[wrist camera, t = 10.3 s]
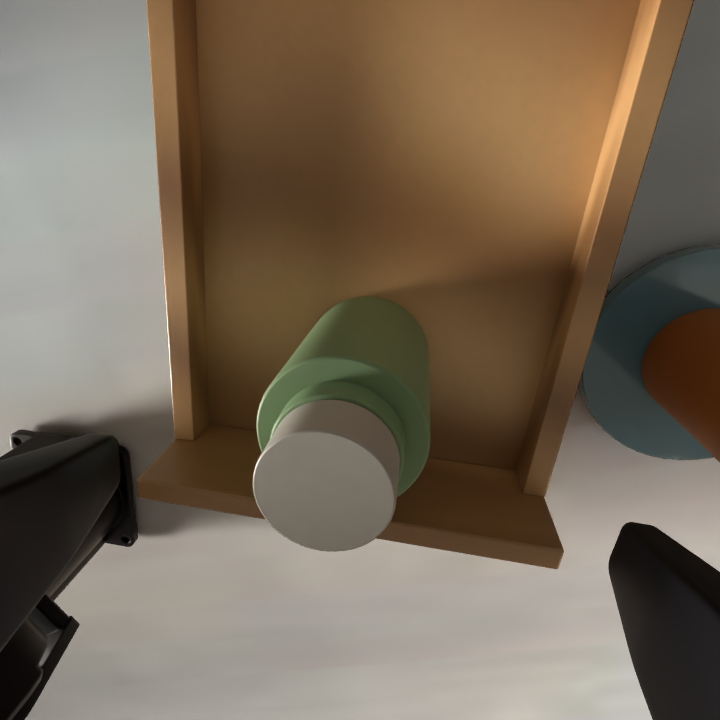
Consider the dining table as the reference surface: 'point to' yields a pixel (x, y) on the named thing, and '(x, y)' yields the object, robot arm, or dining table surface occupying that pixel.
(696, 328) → the amber bottle
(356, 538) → the green bottle
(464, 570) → the dining table surface
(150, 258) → the dining table surface
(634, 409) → the coaster
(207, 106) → the spice rack
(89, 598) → the dining table surface
